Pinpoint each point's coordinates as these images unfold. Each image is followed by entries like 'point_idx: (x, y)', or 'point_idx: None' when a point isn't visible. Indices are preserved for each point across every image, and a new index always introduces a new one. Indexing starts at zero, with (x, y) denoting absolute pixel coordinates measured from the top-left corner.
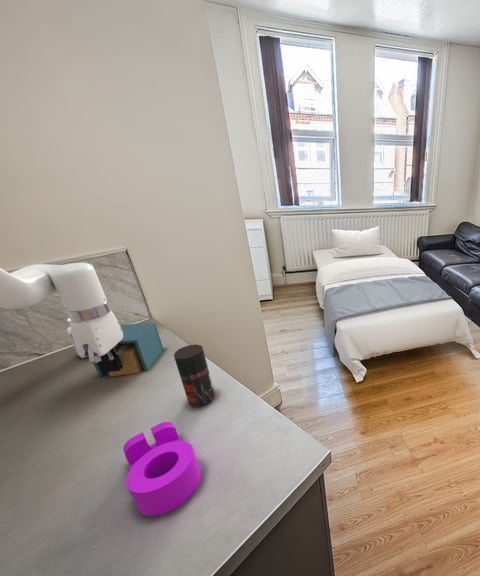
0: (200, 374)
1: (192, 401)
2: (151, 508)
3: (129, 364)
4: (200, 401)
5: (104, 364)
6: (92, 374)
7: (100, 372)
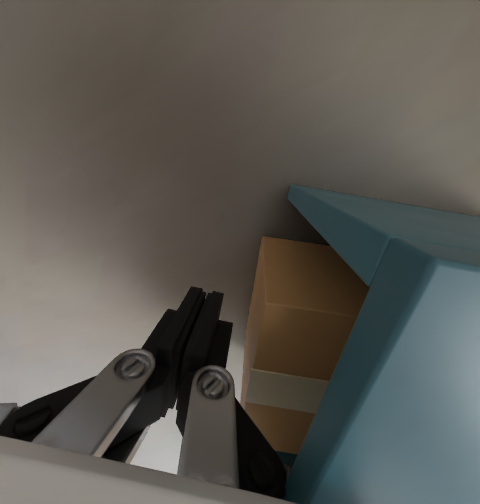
0: None
1: None
2: None
3: (246, 348)
4: None
5: (148, 338)
6: (328, 139)
7: (290, 199)
